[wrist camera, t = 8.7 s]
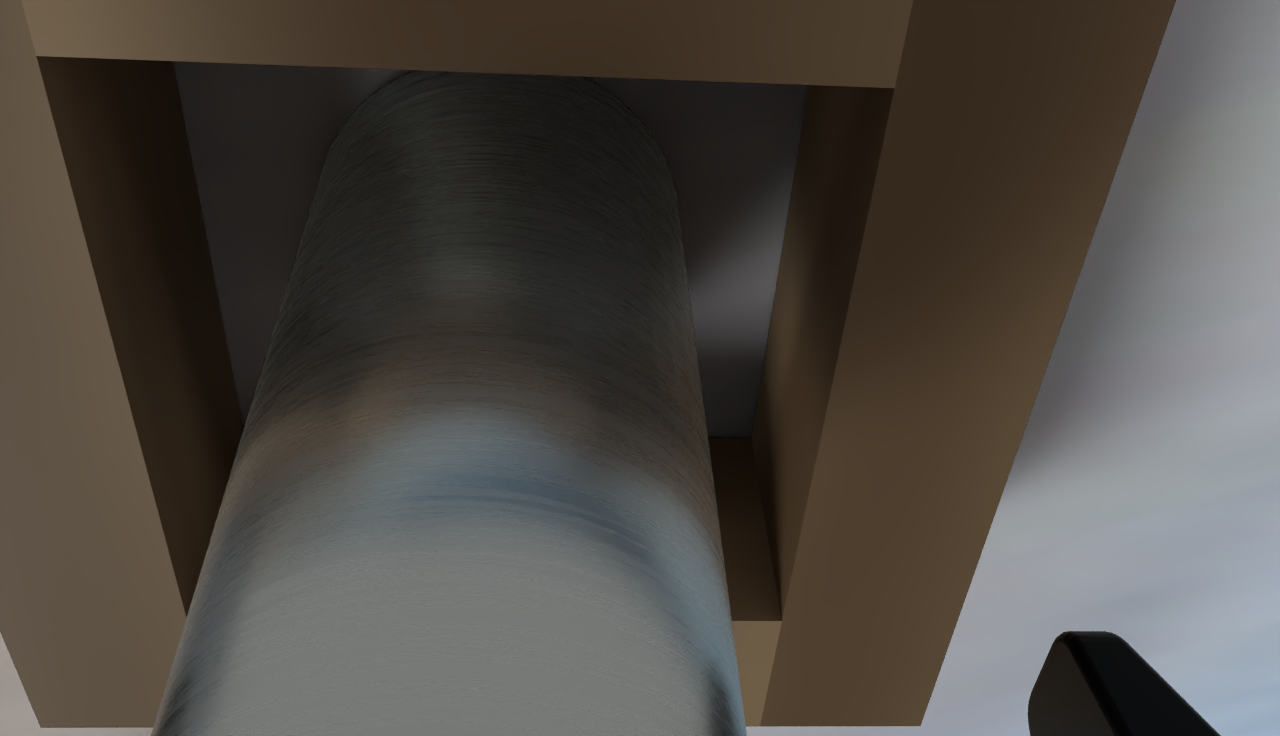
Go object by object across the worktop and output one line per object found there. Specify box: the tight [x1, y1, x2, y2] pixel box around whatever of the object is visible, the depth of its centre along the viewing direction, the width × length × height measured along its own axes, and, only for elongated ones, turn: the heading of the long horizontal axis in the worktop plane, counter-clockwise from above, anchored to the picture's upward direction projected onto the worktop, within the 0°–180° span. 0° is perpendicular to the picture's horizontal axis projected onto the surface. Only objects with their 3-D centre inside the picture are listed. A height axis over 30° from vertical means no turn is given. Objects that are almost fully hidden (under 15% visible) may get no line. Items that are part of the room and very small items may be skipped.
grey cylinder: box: [151, 70, 747, 736], centre depth 10 cm, size 4×4×10 cm
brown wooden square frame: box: [0, 0, 1176, 728], centre depth 13 cm, size 10×10×3 cm
